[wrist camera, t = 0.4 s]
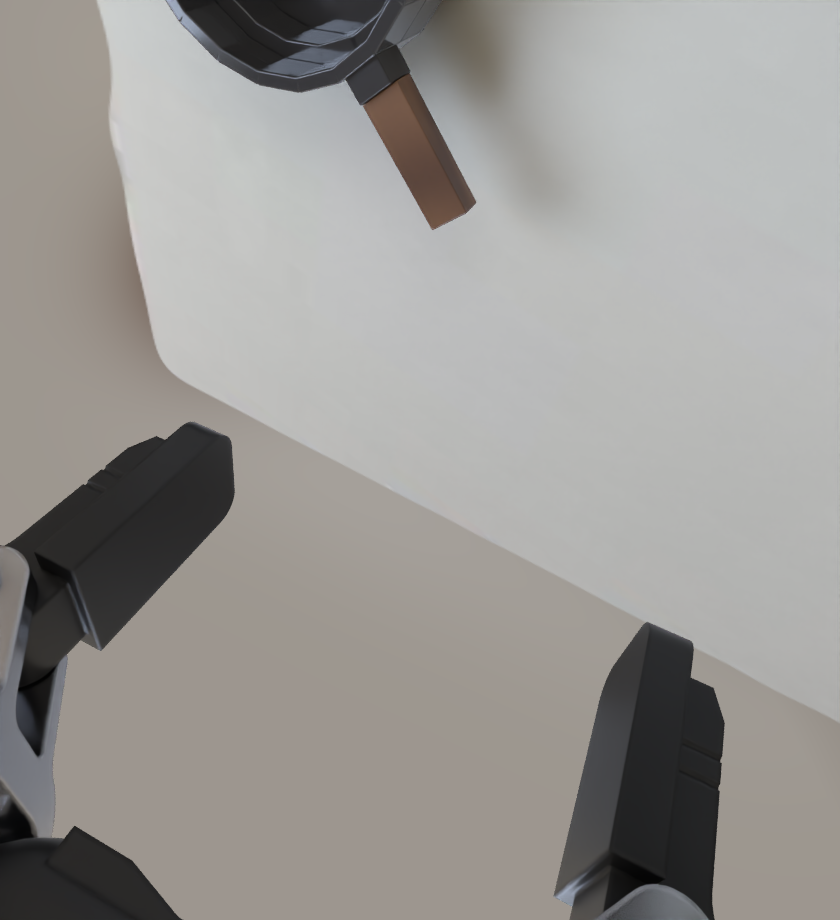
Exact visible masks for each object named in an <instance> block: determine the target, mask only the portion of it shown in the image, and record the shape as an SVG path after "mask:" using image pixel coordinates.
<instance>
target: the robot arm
mask: <svg viewBox="0 0 840 920" xmlns="http://www.w3.org/2000/svg"><path fill="white" fill-rule="evenodd" d="M234 491H235V490H234V473H233V458H232V445H231V440H230V439H229V438H228V437H227V436H225V435H223V434H220V433H218V432H216V431H214V430H211V429H209V428H207V427H205V426H202V425H200V424H198V423H195V422H188V423H186V424H184V425H183V426H182V427H180V428H179V429H178V430H177V431H176V432H174V433H173V434H172V435H171V436H169V437H168V439H166V440H164V439H162V438H159V437H157V436H156V437H154V438H151V439H149V440H146V441H144V442H141V443H139V444H137V445H134V446H132V447H129V448H127V449H126V450H125V451H124V452H122V453H121V454H120V455H119V456H118V457H116V458H115V459H114V460H112V461H111V462H110V463H109V464H108V465H106V468H105V469H104V470H100V471H99V472H98V473H96V474H95V475H94V476H93V477H91V478H90V479H89V480H88V483H87V484H86V485H84V484H83V485H82V486H80V487H79V488H78V489H77V490H75V491H74V492H73V493H72V494H71V495H69V496H68V497H67V498H66V499H64V500H63V501H62V502H61V503H59V504H58V505H57V506H56V507H54V508H53V509H52V510H51V511H50V512H48V513H47V514H46V515H45V516H43V517H42V518H41V519H40V520H38V521H37V522H36V523H35V524H33V525H32V526H31V527H30V528H29V529H27V530H26V531H25V532H24V533H22V534H21V535H20V536H19V537H17V538H16V539H15V540H13V541H12V542H10V543H8V544H7V545H5V546H1V545H0V920H182V919H180V918H179V917H178V916H177V915H176V914H175V913H174V911H173V910H172V909H171V908H170V906H169V905H168V904H167V903H166V902H165V900H164V899H163V898H162V897H161V896H160V894H159V893H158V892H157V891H156V889H155V888H154V887H153V886H152V885H151V883H150V882H149V881H148V880H147V878H146V877H145V876H144V875H143V873H142V872H141V871H140V870H139V869H138V867H137V866H136V865H135V864H134V862H133V861H132V860H130V859H128V858H127V857H125V856H124V855H122V854H120V853H119V852H117V851H115V850H114V849H112V848H110V847H109V846H107V845H105V844H104V843H102V842H100V841H99V840H97V839H95V838H94V837H92V836H90V835H89V834H87V833H86V832H84V831H82V830H81V829H79V828H77V827H76V826H74V827H73V828H72V830H71V831H70V832H69V833H68V835H67V836H66V837H65V839H62V838H52V833H53V826H54V818H55V785H54V779H53V757H54V749H55V743H56V736H57V729H58V723H59V716H60V710H61V703H62V695H63V689H64V683H65V676H66V669H67V660H68V657H67V654H68V653H69V652H70V650H71V649H72V648H73V647H74V646H75V645H76V644H77V643H78V642H79V641H80V640H82V641H83V642H85V643H87V644H89V645H91V646H92V647H95V648H96V649H98V650H100V651H101V650H102V649H103V648H104V647H105V646H106V645H107V644H108V643H109V642H110V641H111V640H112V638H113V637H114V636H115V635H116V634H117V633H118V632H119V631H120V630H121V629H122V628H123V626H125V625H126V623H127V622H128V621H129V620H130V619H131V618H132V617H133V616H134V615H135V614H136V613H137V612H138V611H139V609H140V608H141V607H142V606H143V605H144V604H145V603H146V602H147V601H148V600H149V599H150V598H151V597H152V596H153V594H154V593H155V592H156V591H157V590H158V589H159V588H160V587H161V586H162V585H163V584H164V583H165V581H166V580H167V579H168V578H169V577H170V576H171V575H172V574H173V573H174V572H175V571H176V570H177V569H178V567H180V565H181V564H182V563H183V562H184V561H185V560H186V559H187V558H188V557H189V556H190V555H191V554H192V552H193V551H194V550H195V549H196V548H197V547H198V546H199V545H200V544H201V543H202V542H203V540H204V539H206V537H207V536H208V535H209V534H210V533H211V532H212V531H213V530H214V529H215V528H216V527H217V526H218V525H219V524H220V522H221V521H222V520H223V519H224V517H225V516H226V515H227V513H228V511H229V509H230V507H231V505H232V502H233V498H234V493H235V492H234ZM693 651H694V649H693V643H692V642H691V641H690V640H687V639H685V638H683V637H681V636H678V635H676V634H674V633H671V632H669V631H667V630H665V629H662V628H660V627H658V626H655V625H653V624H651V623H649V622H646V623H645V624H644V625H643V626H642V627H641V629H640V630H639V631H638V633H637V634H636V635H635V637H634V638H633V640H632V641H631V642H630V644H629V645H628V647H627V648H626V649H625V651H624V652H623V653H622V655H621V656H620V658H619V659H618V660H617V662H616V663H615V665H614V666H613V668H612V669H611V671H610V673H609V675H608V678H607V680H606V683H605V685H604V688H603V691H602V694H601V697H600V701H599V705H598V709H597V714H596V718H595V723H594V726H593V731H592V735H591V739H590V743H589V747H588V752H587V756H586V761H585V765H584V769H583V773H582V777H581V782H580V786H579V790H578V794H577V799H576V803H575V807H574V812H573V816H572V820H571V824H570V828H569V833H568V837H567V842H566V846H565V850H564V854H563V858H562V862H561V867H560V871H559V875H558V880H557V884H556V889H555V893H554V897H555V898H557V899H559V900H561V901H563V902H564V903H566V904H568V905H570V906H572V911H571V916H570V920H715V919H714V914H713V907H712V888H713V875H714V860H715V846H716V832H717V819H718V806H719V790H718V787H719V785H720V778H721V764H722V763H720V759H721V757H722V751H723V738H724V737H723V736H724V724H725V723H724V720H723V716H722V713H721V710H720V707H719V704H718V701H717V698H716V694H715V691H714V688H712V687H710V686H708V685H706V684H703V683H701V682H699V681H697V680H694V679H692V678H690V677H691V669H692V660H693Z"/></svg>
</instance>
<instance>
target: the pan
mask: <svg viewBox="0 0 840 920" xmlns="http://www.w3.org/2000/svg"><path fill="white" fill-rule="evenodd" d="M441 1H442V0H166V2H167V3H168V5H169V6H170V8H171V10H172V11H173V13H174V14H175V16H176V17H177V19H178V20H179V21H180V22H181V24H182V25H183V26H184V27H185V28H186V29H187V30H188V31H189V32H190V33H191V34H192V35H193V36H194V37H195V38H196V39H197V40H198V41H199V43H200V44H201V45H202V46H203V47H204V48H205V49H206V50H207V51H208V52H209V53H210V54H211V55H212V56H213V57H214V58H215V59H216V60H218V61H219V62H220V63H222V64H224V65H225V66H227V67H229V68H230V69H232V70H234V71H235V72H237V73H239V74H241V75H242V76H244V77H246V78H247V79H249V80H251V81H252V82H254V83H256V84H259V85H261V86H266V87H271V88H276V89H282V90H287V91H292V92H298V93H299V92H301V93H302V92H306V91H310V90H315V89H319V88H323V87H327V86H331V85H335V84H339V83H341V82H343V81H345V80H346V79H347V78H348V77H349V76H351V75H352V74H353V73H354V72H356V71H357V70H358V69H359V68H361V67H362V66H363V65H365V64H366V63H367V62H368V61H370V60H371V59H372V58H373V57H375V56H376V55H378V54H380V53H381V52H383V51H385V50H387V49H389V48H391V47H393V46H395V45H397V46H398V48H399V49H400V48H401V47H403V46H404V45H405V44H406V43H408V42H409V41H410V40H412V39H413V38H414V37H415V36H417V35H418V34H419V33H420V32H421V31H422V30H424V28H425V26H426V25H427V23H428V22H429V20H430V18H431V17H432V15H433V14H434V12H435V11H436V9H437V7H438V6H439V4H440V3H441Z"/></svg>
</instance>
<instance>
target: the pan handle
mask: <svg viewBox="0 0 840 920" xmlns="http://www.w3.org/2000/svg"><path fill="white" fill-rule="evenodd" d="M409 73H410V70H409V68H408V66H407V64H406V62H405V60H404V58H403V56H402V54H401V52H400V50H399V48H398V46H397V45H395V46H393V47H391V48H389V49H387V50H385V51H383V52H381V53H380V54H378V55H376V56H375V57H373V58H372V59H371V60H370V61H368V62H367V63H366V64H365V65H363V66H362V67H361V68H359V69H358V70H357V71H356V72H354V73H353V74H352V75H351V76H349V77H348V78H347V79H346V81H347V83H348V84H349V86H350V88H351V90H352V92H353V93H354V95H355V97H356V99H357V101H358V102H359V104H360V105H363V104H364V105H363V107H364V109H365V110H366V112H367V114H368V116H369V118H370V119H371V121H372V123H373V125H374V127H375V128H376V130H377V132H378V134H379V136H380V137H381V139H382V141H383V143H384V144H385V146H386V148H387V150H388V152H389V153H390V155H391V157H392V159H393V161H394V162H395V164H396V166H397V168H398V169H399V171H400V173H401V175H402V177H403V178H404V180H405V182H406V184H407V186H408V187H409V189H410V191H411V193H412V195H413V196H414V198H415V200H416V202H417V203H418V205H419V207H420V209H421V211H422V212H423V214H424V216H425V218H426V220H427V221H428V223H429V225H430V227H431V228H432V230H434V229H436V228H438V227H440V226H442V225H444V224H446V223H448V222H450V221H452V220H454V219H456V218H458V217H460V216H462V215H464V214H466V213H467V212H468V211H469V210H470V209H471V208H472V207H473V206H474V205H475V204H476V200H475V199H474V197H473V195H472V193H471V191H470V189H469V187H468V185H467V183H466V181H465V179H464V177H463V175H462V173H461V172H460V170H459V168H458V166H457V164H456V162H455V160H454V158H453V156H452V154H451V152H450V150H449V148H448V146H447V145H446V143H445V141H444V139H443V137H442V135H441V133H440V131H439V129H438V127H437V125H436V123H435V121H434V119H433V117H432V116H431V114H430V112H429V110H428V108H427V106H426V104H425V102H424V100H423V98H422V96H421V94H420V92H419V90H418V89H417V87H416V85H415V83H414V81H413V79H412V77H411V75H410V74H409Z"/></svg>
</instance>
